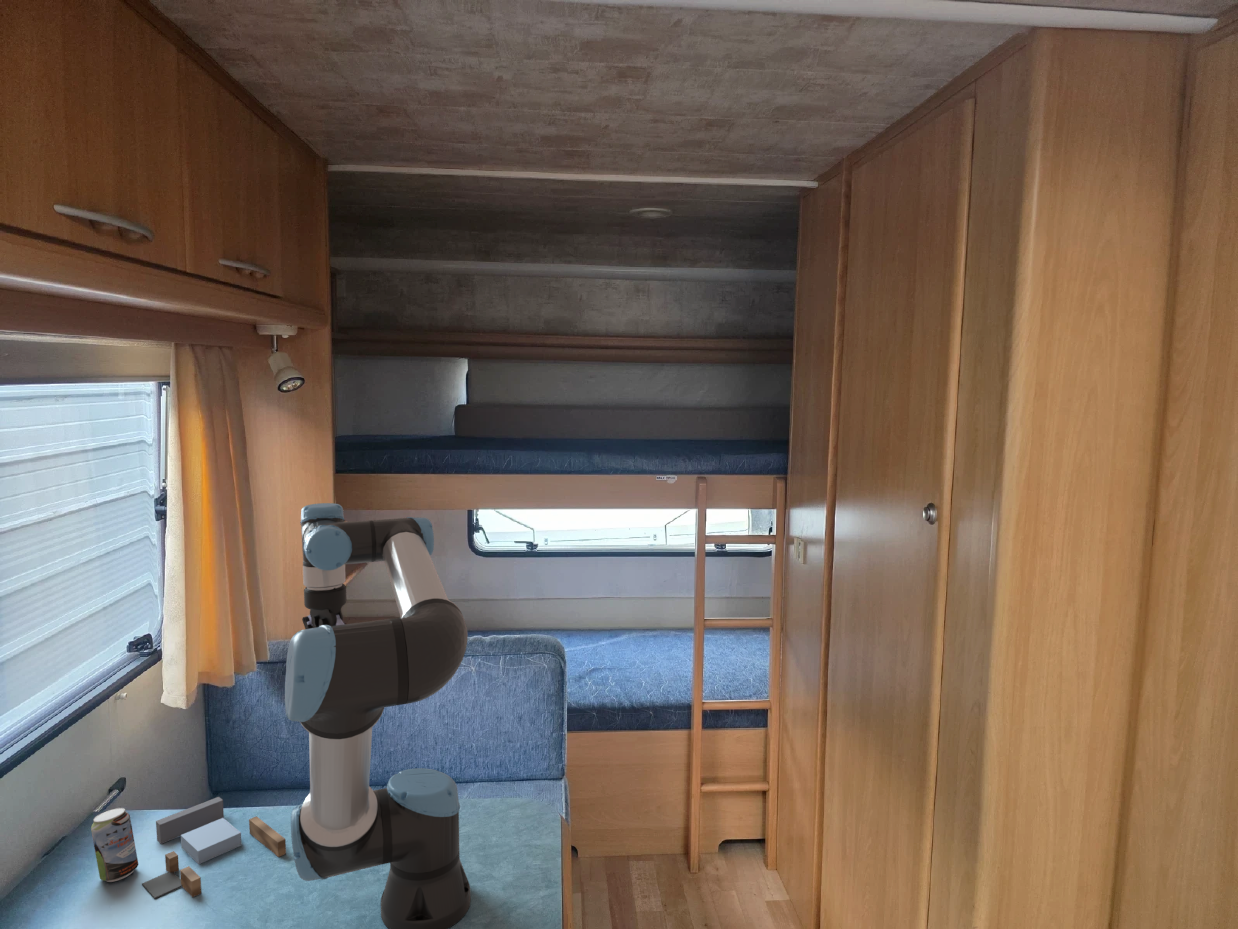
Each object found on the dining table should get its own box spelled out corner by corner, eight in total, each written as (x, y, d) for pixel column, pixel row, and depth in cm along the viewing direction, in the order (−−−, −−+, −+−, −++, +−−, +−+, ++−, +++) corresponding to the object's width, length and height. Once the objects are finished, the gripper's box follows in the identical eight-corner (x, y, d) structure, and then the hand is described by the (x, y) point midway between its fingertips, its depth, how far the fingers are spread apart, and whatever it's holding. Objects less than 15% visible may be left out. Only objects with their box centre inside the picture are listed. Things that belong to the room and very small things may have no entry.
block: (241, 847, 154) (241, 832, 154) (198, 866, 148) (197, 851, 148) (223, 831, 159) (222, 817, 159) (181, 849, 153) (180, 835, 153)
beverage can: (120, 889, 141) (115, 825, 139) (85, 883, 142) (80, 820, 141) (147, 867, 147) (143, 807, 146) (114, 862, 148) (109, 802, 147)
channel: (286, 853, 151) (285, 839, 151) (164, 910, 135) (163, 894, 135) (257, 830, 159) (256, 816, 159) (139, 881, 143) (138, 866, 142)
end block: (223, 818, 163) (222, 800, 163) (160, 844, 154) (159, 824, 154) (219, 814, 165) (218, 796, 164) (157, 840, 156) (155, 821, 155)
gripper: (362, 586, 148) (366, 707, 150) (323, 576, 156) (327, 691, 158) (326, 594, 142) (331, 720, 144) (287, 584, 150) (292, 703, 152)
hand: (329, 705), depth 151 cm, fingers closed
